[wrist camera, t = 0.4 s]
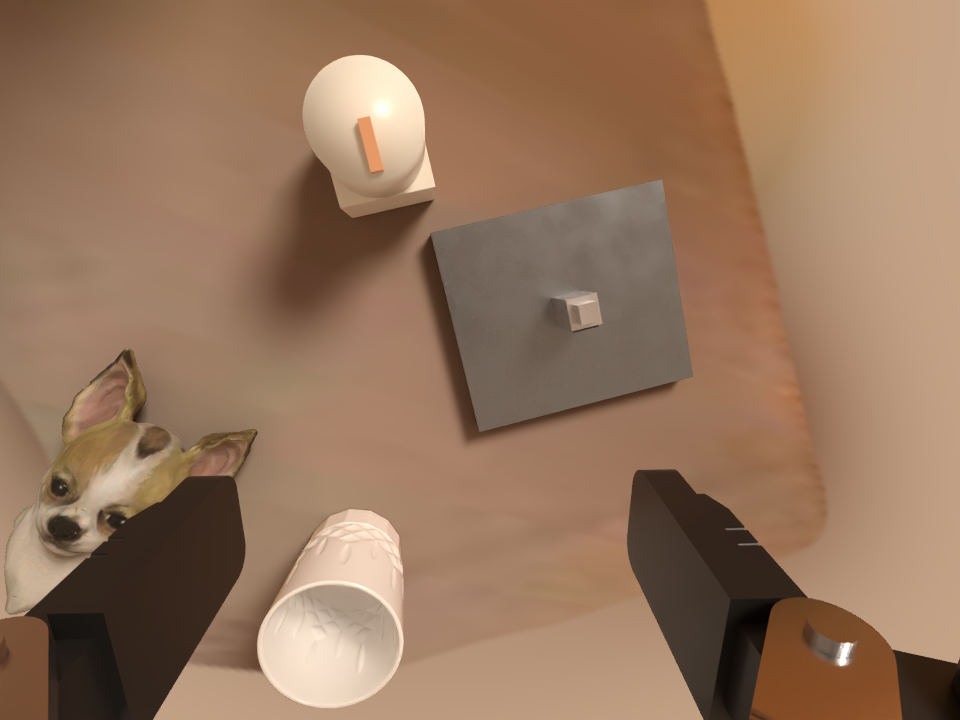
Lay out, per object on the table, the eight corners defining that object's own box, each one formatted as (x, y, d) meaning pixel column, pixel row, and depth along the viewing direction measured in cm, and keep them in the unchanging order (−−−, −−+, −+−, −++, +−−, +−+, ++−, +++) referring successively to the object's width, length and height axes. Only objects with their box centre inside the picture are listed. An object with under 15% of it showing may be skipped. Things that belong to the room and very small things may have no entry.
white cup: (281, 568, 37) (229, 673, 27) (336, 481, 37) (304, 556, 27) (374, 614, 39) (356, 730, 29) (429, 532, 38) (430, 621, 28)
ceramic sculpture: (-118, 583, 26) (55, 351, 26) (11, 512, 34) (141, 337, 34) (76, 680, 28) (237, 465, 28) (153, 590, 36) (276, 425, 36)
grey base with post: (430, 234, 34) (431, 226, 29) (652, 183, 35) (697, 164, 30) (477, 425, 37) (487, 454, 31) (682, 372, 38) (729, 390, 32)
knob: (328, 131, 33) (284, 65, 22) (413, 112, 33) (407, 39, 23) (352, 218, 34) (320, 192, 24) (434, 199, 34) (437, 166, 24)
